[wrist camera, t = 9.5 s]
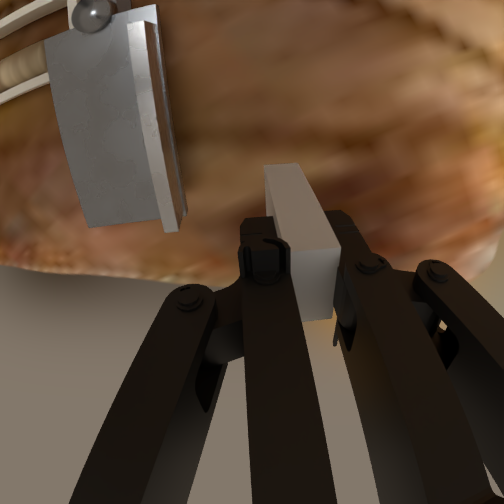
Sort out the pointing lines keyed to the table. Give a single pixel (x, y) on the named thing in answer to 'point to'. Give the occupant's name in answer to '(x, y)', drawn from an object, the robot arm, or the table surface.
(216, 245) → the table surface
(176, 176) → the cover
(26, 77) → the dowel
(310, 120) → the table surface
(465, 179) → the table surface
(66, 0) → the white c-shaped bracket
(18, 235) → the table surface
